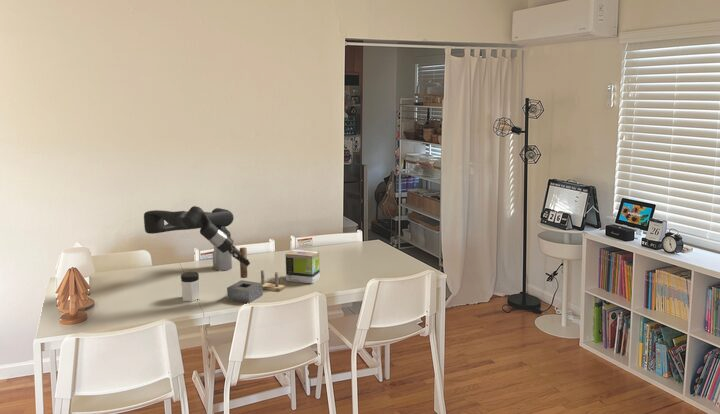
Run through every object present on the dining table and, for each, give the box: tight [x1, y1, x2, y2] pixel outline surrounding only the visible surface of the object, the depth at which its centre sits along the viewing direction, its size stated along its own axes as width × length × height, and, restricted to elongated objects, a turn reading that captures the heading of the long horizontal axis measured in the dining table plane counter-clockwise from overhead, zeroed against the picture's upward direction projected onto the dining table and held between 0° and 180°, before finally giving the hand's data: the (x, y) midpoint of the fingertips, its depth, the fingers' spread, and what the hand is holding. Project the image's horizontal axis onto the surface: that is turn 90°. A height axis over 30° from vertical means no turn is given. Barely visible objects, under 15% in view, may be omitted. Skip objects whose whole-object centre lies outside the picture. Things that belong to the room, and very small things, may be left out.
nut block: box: [226, 279, 264, 304], centre depth 294 cm, size 12×12×6 cm
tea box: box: [285, 248, 321, 284], centre depth 319 cm, size 15×10×15 cm, turn 71°
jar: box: [180, 271, 201, 302], centre depth 292 cm, size 9×8×12 cm
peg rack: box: [259, 269, 286, 292], centre depth 307 cm, size 14×5×8 cm, turn 68°
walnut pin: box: [239, 247, 248, 279], centre depth 291 cm, size 3×3×14 cm
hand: (247, 263), depth 292 cm, fingers closed on walnut pin, 3 cm apart
